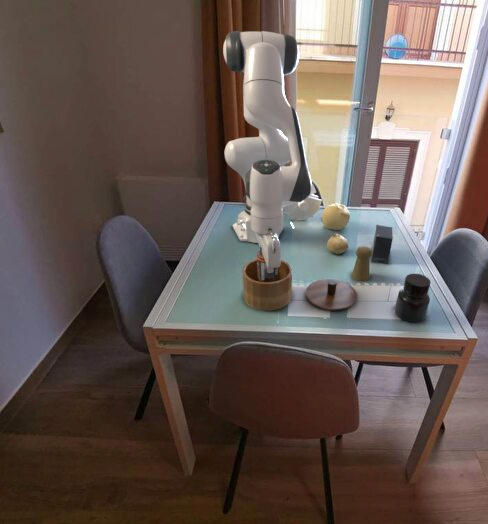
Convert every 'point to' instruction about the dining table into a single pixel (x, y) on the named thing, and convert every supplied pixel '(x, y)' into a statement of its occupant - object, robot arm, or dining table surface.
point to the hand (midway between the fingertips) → (267, 265)
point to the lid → (331, 294)
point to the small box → (382, 244)
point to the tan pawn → (362, 264)
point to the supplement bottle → (262, 271)
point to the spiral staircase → (303, 206)
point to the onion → (337, 244)
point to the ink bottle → (413, 298)
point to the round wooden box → (267, 287)
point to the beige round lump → (335, 216)
